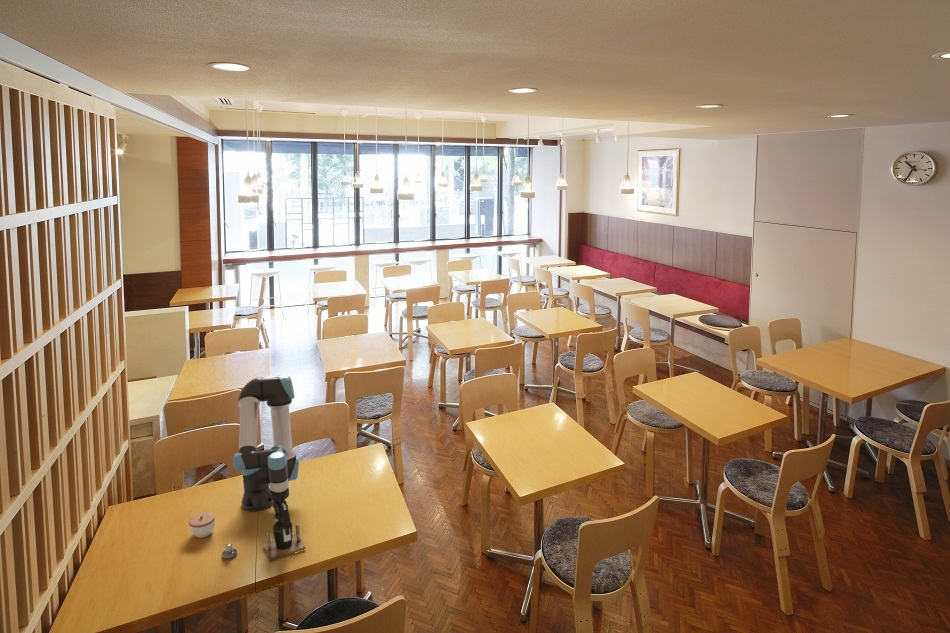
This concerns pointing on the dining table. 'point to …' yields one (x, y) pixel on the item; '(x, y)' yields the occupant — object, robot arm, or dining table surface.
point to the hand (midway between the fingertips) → (283, 532)
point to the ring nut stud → (229, 552)
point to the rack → (277, 553)
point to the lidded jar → (202, 524)
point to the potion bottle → (280, 533)
